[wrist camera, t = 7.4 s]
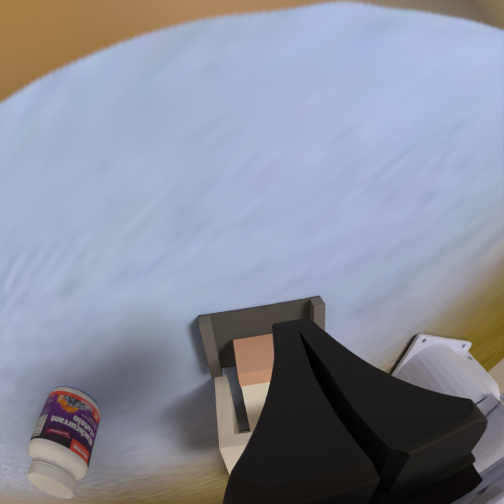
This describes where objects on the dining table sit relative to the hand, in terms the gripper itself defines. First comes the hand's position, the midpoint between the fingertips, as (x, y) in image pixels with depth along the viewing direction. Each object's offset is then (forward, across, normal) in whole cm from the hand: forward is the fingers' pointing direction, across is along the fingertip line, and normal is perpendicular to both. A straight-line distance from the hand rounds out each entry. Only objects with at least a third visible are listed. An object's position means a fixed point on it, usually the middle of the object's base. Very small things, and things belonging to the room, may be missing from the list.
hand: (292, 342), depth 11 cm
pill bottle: (+10, +18, +13) cm, 25 cm away
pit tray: (+10, 0, +7) cm, 12 cm away
